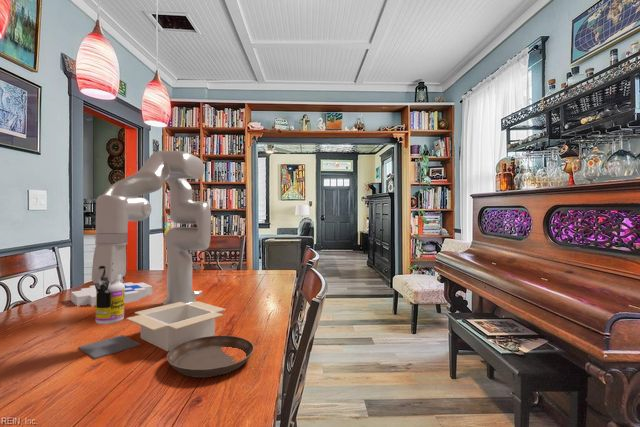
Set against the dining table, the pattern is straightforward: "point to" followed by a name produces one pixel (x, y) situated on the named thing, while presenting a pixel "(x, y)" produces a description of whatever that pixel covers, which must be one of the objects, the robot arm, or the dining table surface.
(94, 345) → the coaster mat
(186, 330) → the carton
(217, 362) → the plant saucer
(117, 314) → the supplement bottle
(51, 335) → the dining table surface
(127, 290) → the pixel art tile
